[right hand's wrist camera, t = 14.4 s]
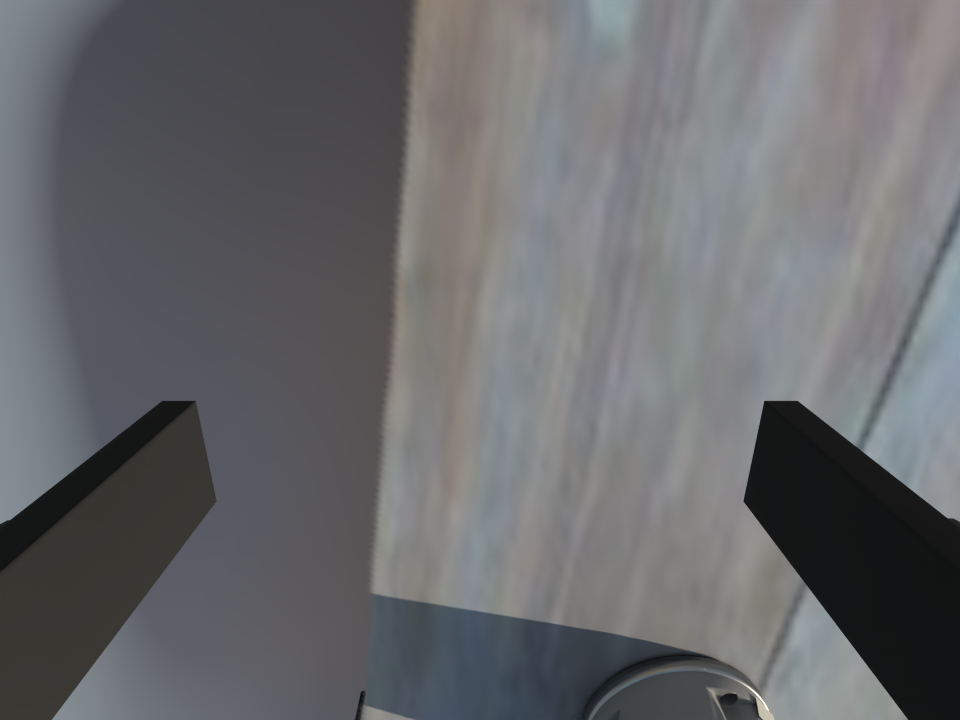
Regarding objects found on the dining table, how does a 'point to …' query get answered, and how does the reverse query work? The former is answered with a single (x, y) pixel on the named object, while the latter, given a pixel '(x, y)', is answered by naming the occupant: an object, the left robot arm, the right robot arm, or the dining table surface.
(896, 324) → the dining table surface
